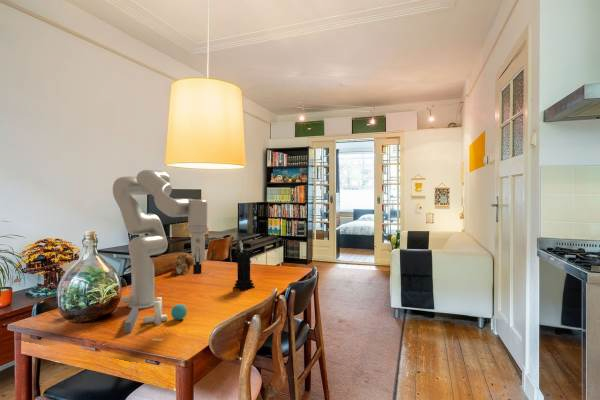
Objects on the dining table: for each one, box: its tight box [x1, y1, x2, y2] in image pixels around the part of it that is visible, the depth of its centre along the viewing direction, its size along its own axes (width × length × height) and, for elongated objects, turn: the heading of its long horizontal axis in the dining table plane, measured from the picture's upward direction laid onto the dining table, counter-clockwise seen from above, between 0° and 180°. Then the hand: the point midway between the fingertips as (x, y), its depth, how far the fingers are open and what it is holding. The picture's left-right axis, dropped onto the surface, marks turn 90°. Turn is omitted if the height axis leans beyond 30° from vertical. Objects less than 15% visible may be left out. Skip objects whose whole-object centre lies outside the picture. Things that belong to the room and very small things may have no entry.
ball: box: [170, 303, 188, 321], centre depth 133 cm, size 6×6×6 cm
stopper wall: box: [123, 306, 139, 334], centre depth 128 cm, size 2×18×4 cm, turn 18°
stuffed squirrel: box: [170, 252, 194, 276], centre depth 214 cm, size 10×14×13 cm
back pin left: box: [155, 296, 163, 315], centre depth 134 cm, size 2×2×8 cm
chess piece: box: [233, 249, 255, 291], centre depth 178 cm, size 8×8×20 cm
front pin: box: [142, 314, 168, 324], centre depth 131 cm, size 2×2×8 cm
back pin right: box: [153, 301, 162, 325], centre depth 129 cm, size 2×2×8 cm
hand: (197, 273), depth 136 cm, fingers closed
